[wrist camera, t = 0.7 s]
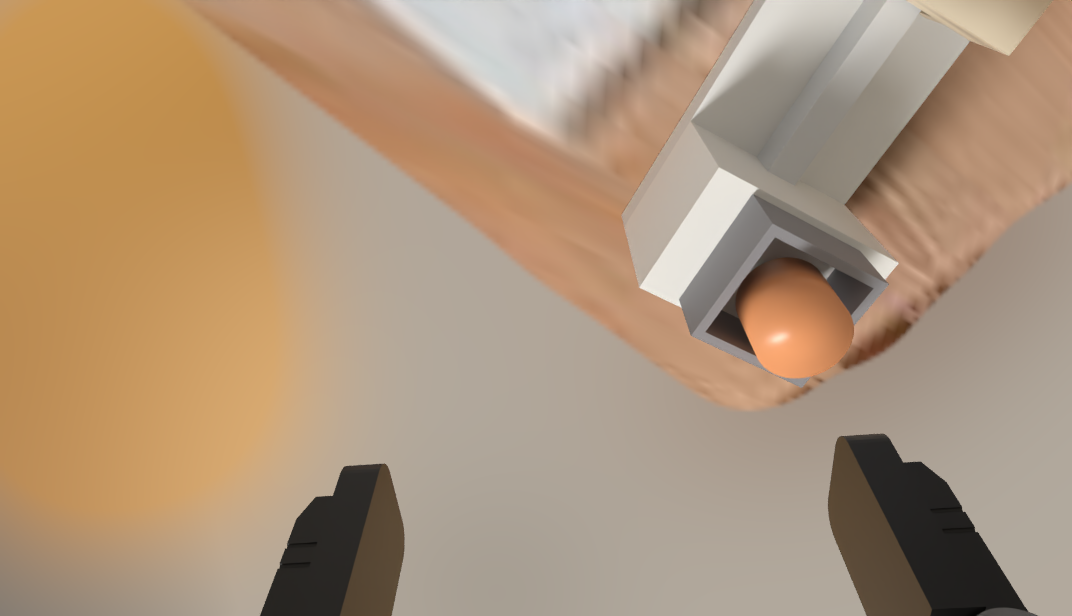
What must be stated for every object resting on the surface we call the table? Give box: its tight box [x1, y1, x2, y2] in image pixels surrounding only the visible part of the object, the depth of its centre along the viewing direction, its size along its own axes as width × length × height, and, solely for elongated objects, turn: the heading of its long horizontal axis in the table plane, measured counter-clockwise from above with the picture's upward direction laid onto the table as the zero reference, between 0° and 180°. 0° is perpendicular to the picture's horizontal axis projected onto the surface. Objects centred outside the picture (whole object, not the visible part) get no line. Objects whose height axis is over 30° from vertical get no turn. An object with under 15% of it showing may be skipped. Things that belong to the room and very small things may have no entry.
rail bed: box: [622, 0, 970, 388], centre depth 31 cm, size 24×10×11 cm, turn 153°
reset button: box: [735, 257, 854, 378], centre depth 29 cm, size 4×4×3 cm
